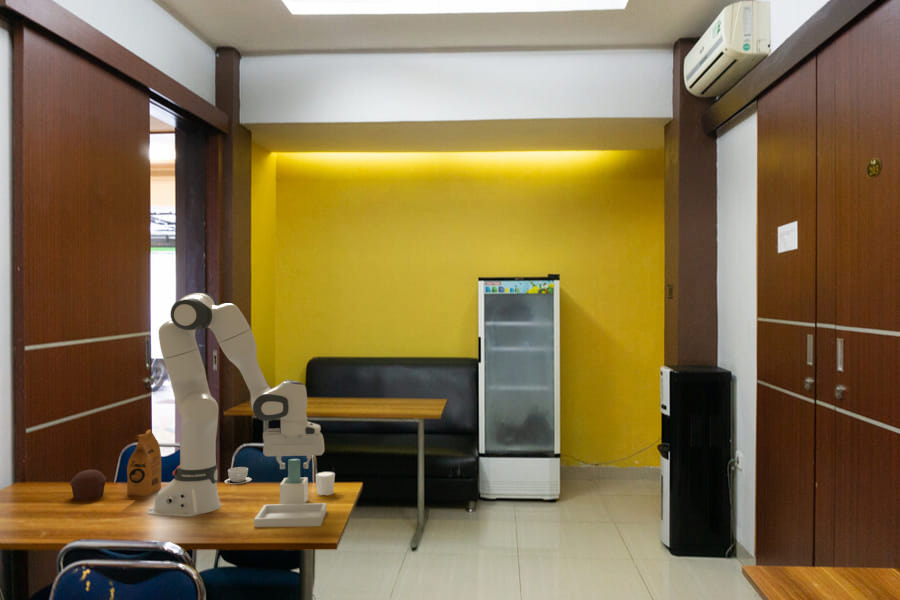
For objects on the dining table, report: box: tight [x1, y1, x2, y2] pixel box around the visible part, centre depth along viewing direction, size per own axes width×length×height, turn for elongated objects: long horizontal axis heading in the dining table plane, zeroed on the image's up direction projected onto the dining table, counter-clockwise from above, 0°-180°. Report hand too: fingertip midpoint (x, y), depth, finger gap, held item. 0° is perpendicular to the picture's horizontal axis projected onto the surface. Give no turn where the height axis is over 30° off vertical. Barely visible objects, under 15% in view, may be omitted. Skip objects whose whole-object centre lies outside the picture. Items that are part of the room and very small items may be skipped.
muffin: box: [69, 469, 108, 501], centre depth 222 cm, size 12×11×10 cm
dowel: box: [287, 458, 301, 483], centre depth 217 cm, size 4×4×14 cm
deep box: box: [279, 476, 309, 504], centre depth 216 cm, size 8×8×8 cm
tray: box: [253, 502, 327, 528], centre depth 201 cm, size 20×14×3 cm
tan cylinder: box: [315, 471, 336, 496], centre depth 229 cm, size 7×7×7 cm
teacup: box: [224, 466, 253, 485], centre depth 245 cm, size 10×10×5 cm
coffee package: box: [126, 429, 162, 497], centre depth 230 cm, size 10×12×22 cm
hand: (294, 468), depth 216 cm, fingers open, 6 cm apart
